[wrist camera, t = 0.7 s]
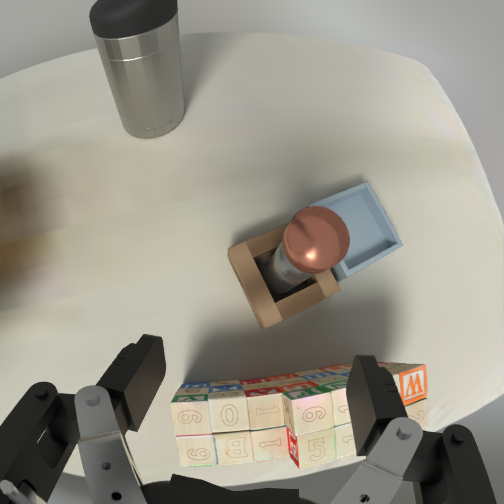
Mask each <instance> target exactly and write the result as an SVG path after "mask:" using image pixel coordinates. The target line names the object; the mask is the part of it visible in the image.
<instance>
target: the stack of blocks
mask: <svg viewBox="0 0 504 504" xmlns="http://www.w3.org/2000/svg"><path fill="white" fill-rule="evenodd" d="M352 364H353V363H350V364H345V365H337V366H331V367H326V368H320V369H314V370H307V371H301V372H294V373H292V374H287V375H280V376H273V377H267V378H260V379H251V380H241V381H238V380H229V381H216V382H206V383H187V384H182V385H181V387H180V388H179V389H178V390H177V392H176V393H175V396H174V398H173V399H172V401H171V409H172V416H173V423H174V430H175V435H176V438H177V445H178V451H179V456H180V462H181V466H182V467H196V466H211V465H231V464H240V463H249V462H254V461H255V462H258V461H265V460H271V459H276V458H282V457H285V456H288V455H290V457H291V459H292V460H293V461H294V462H295V464H296V465H297V467H298V468H299V469H302V468H307V467H311V466H315V465H319V464H323V463H327V462H331V461H334V460H336V459H339V458H343V457H346V456H350V455H353V454H356V448H355V442H354V436H353V430H352V424H351V419H350V413H349V408H348V403H347V398H346V385H347V381H348V378H349V374H350V371H351V368H352ZM377 364H378V366H379V367H385V368H386V369H387V370H388V371H389V372H390V373H391V374H392V375H393V378H394V380H395V383H396V385H397V388H398V392H399V393H400V396H401V399H402V401H403V404H404V407H405V409H406V412H407V415H408V417H409V418H410V419H413V420H415V421H416V422H417V423H419V425H420V426H421V428H422V430H424V429H426V428H427V416H428V399H427V398H426V397H427V374H426V365H425V364H406V363H393V362H391V363H383V362H377Z"/></svg>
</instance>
